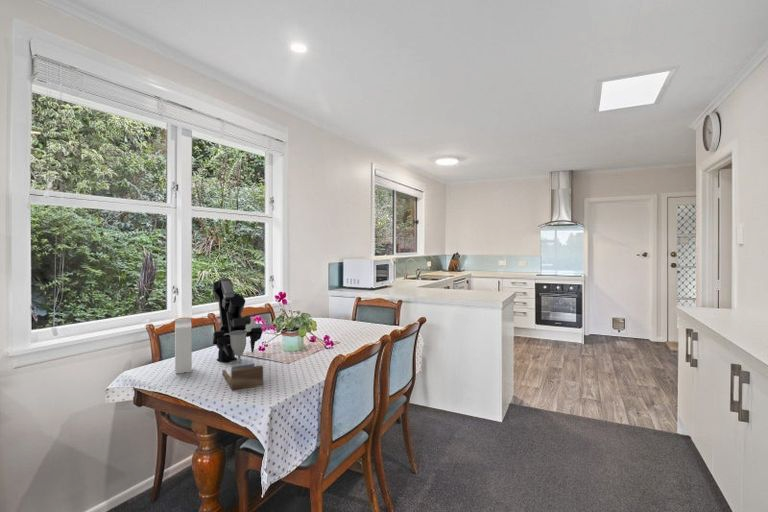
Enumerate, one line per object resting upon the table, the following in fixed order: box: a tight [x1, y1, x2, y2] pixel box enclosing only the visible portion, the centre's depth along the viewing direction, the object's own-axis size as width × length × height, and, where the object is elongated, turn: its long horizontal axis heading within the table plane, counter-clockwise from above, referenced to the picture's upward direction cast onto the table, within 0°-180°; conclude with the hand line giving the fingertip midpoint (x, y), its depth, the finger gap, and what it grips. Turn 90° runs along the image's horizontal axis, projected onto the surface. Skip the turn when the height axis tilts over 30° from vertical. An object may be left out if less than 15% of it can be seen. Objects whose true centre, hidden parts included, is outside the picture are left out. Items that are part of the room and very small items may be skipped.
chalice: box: [229, 330, 248, 366], centre depth 158 cm, size 7×7×18 cm
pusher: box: [230, 363, 255, 371], centre depth 154 cm, size 1×8×6 cm, turn 122°
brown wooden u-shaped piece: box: [221, 365, 264, 391], centre depth 156 cm, size 20×11×7 cm, turn 32°
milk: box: [174, 317, 193, 374], centre depth 166 cm, size 6×6×22 cm
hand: (240, 353), depth 157 cm, fingers open, 9 cm apart
